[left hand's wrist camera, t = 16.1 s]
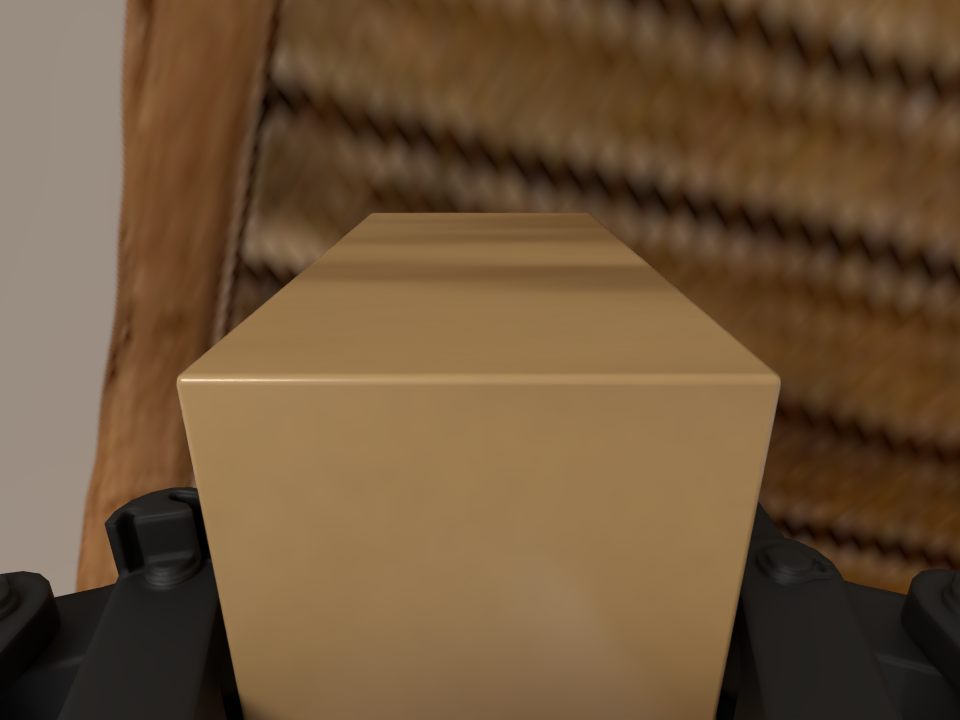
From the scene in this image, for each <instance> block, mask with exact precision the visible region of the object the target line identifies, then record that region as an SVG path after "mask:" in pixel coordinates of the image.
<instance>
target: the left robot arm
mask: <svg viewBox="0 0 960 720" xmlns="http://www.w3.org/2000/svg"><path fill="white" fill-rule="evenodd" d="M105 527H106V531H107V534H108V538H109V542H110V545H111V549H112V553H113V556H114V560H115V564H116V567H117V571H118V574H119V577H118V579H117V581H116V583H115V584H111V585H108V586H104V587H101V588H96V589H91V590H87V591H82V592H77V593H73V594H68V595H64V596H59V597H54V595H53V592H52V589H51V586H50V583H49V581H48V580H47V579H46V578H44V577H43V576H42V575H41V574H38V573H32V572H25V571H21V572H13V573H5V574H0V720H244V718H243V713H242V708H241V703H240V698H239V693H238V688H237V683H236V678H235V673H234V668H233V663H232V658H231V653H230V648H229V643H228V638H227V633H226V628H225V623H224V618H223V613H222V608H221V603H220V598H219V593H218V588H217V583H216V578H215V574H214V569H213V564H212V559H211V554H210V549H209V544H208V539H207V534H206V529H205V524H204V519H203V514H202V509H201V504H200V499H199V494H198V489H197V488H192V487H181V488H169V489H164V490H160V491H155V492H151V493H149V494H146V495H144V496H141V497H139V498H136V499H134V500H131V501H130V502H128V503H127V504H125V505H124V506H122V507H121V508H119V509H118V510H116V511H115V512H114V513H113V514H112V515H111V517H110V518H109V519H108V520H107V521H106V522H105ZM715 720H960V571H953V570H945V569H932V570H926V571H921V572H920V573H919V574H918V575H916V576H915V577H914V578H913V579H912V582H911V585H910V588H909V591H908V594H907V595H905V594H900V593H895V592H891V591H886V590H881V589H877V588H872V587H867V586H863V585H858V584H855V583H851V582H848V581H844V580H843V578H842V576H841V574H840V573H839V571H838V570H837V568H836V567H835V566H834V564H833V563H832V562H831V561H830V560H829V559H827V558H826V557H825V556H823V555H822V554H821V553H820V552H818V551H817V550H815V549H813V548H811V547H809V546H807V545H804V544H802V543H800V542H798V541H795V540H791V539H787V538H784V536H783V535H782V534H781V532H780V531H779V529H778V528H777V527H776V525H775V524H774V523H773V521H772V520H771V518H770V517H769V516H768V514H767V513H766V512H765V510H764V509H763V507H762V506H761V505H760V503H759V502H758V503H757V508H756V513H755V519H754V524H753V529H752V534H751V539H750V544H749V549H748V554H747V559H746V564H745V570H744V575H743V580H742V585H741V590H740V595H739V600H738V605H737V610H736V615H735V621H734V626H733V631H732V636H731V641H730V646H729V651H728V656H727V661H726V666H725V672H724V677H723V682H722V687H721V692H720V697H719V702H718V707H717V712H716V717H715Z"/></svg>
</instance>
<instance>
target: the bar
mask: <svg viewBox="0 0 960 720" xmlns="http://www.w3.org/2000/svg"><path fill="white" fill-rule="evenodd" d="M780 386H781V382H780V377H779V375H778V374H777V373H776V372H775V371H773V370H772V369H771V368H770V367H769V366H767V365H766V364H765V363H764V362H763V361H762V360H760V359H759V358H758V357H757V356H756V355H755V354H753V353H752V352H751V351H750V350H749V349H747V348H746V347H745V346H744V345H743V344H742V343H740V342H739V341H738V340H737V339H736V338H735V337H733V336H732V335H731V334H730V333H729V332H728V331H726V330H725V329H724V328H723V327H722V326H720V325H719V324H718V323H717V322H716V321H715V320H713V319H712V318H711V317H710V316H709V315H708V314H706V313H705V312H704V311H703V310H702V309H701V308H699V307H698V306H697V305H696V304H695V303H693V302H692V301H691V300H690V299H689V298H688V297H686V296H685V295H684V294H683V293H682V292H681V291H679V290H678V289H677V288H676V287H675V286H674V285H672V284H671V283H670V282H669V281H668V280H666V279H665V278H664V277H663V276H662V275H661V274H659V273H658V272H657V271H656V270H655V269H654V268H652V267H651V266H650V265H649V264H648V263H646V262H645V261H644V260H643V259H642V258H641V257H639V256H638V255H637V254H636V253H635V252H634V251H632V250H631V249H630V248H629V247H628V246H627V245H625V244H624V243H623V242H622V241H621V240H619V239H618V238H617V237H616V236H615V235H614V234H612V233H611V232H610V231H609V230H608V229H607V228H605V227H604V226H603V225H602V224H601V223H600V222H598V221H597V220H596V219H595V218H594V217H592V216H591V215H590V214H588V213H373V214H370V215H369V216H368V217H367V218H366V219H365V220H363V221H362V222H361V223H360V224H359V225H357V226H356V227H355V228H354V229H353V230H351V231H350V232H349V233H348V234H347V235H345V236H344V237H343V238H342V239H341V240H340V241H338V242H337V243H336V244H335V245H334V246H332V247H331V248H330V249H329V250H328V251H326V252H325V253H324V254H323V255H322V256H320V257H319V258H318V259H317V260H316V261H314V262H313V263H312V264H311V265H310V266H309V267H307V268H306V269H305V270H304V271H303V272H301V273H300V274H299V275H298V276H297V277H295V278H294V279H293V280H292V281H291V282H289V283H288V284H287V285H286V286H285V287H284V288H282V289H281V290H280V291H279V292H278V293H276V294H275V295H274V296H273V297H272V298H270V299H269V300H268V301H267V302H266V303H264V304H263V305H262V306H261V307H260V308H258V309H257V310H256V311H255V312H254V313H253V314H251V315H250V316H249V317H248V318H247V319H245V320H244V321H243V322H242V323H241V324H239V325H238V326H237V327H236V328H235V329H233V330H232V331H231V332H230V333H229V334H228V335H226V336H225V337H224V338H223V339H222V340H220V341H219V342H218V343H217V344H216V345H214V346H213V347H212V348H211V349H210V350H208V351H207V352H206V353H205V354H204V355H202V356H201V357H200V358H199V359H198V360H197V361H195V362H194V363H193V364H192V365H191V366H189V367H188V368H187V369H186V370H185V371H183V372H182V373H181V374H180V375H179V376H178V379H177V390H178V395H179V400H180V404H181V409H182V414H183V419H184V424H185V429H186V434H187V439H188V444H189V449H190V454H191V459H192V464H193V469H194V474H195V479H196V484H197V489H198V494H199V499H200V504H201V509H202V514H203V519H204V524H205V529H206V534H207V539H208V544H209V549H210V554H211V559H212V564H213V569H214V574H215V578H216V583H217V588H218V593H219V598H220V603H221V608H222V613H223V618H224V623H225V628H226V633H227V638H228V643H229V648H230V653H231V658H232V663H233V668H234V673H235V678H236V683H237V688H238V693H239V698H240V703H241V708H242V713H243V718H244V720H715V717H716V712H717V707H718V702H719V697H720V692H721V687H722V682H723V677H724V672H725V666H726V661H727V656H728V651H729V646H730V641H731V636H732V631H733V626H734V621H735V615H736V610H737V605H738V600H739V595H740V590H741V585H742V580H743V575H744V570H745V564H746V559H747V554H748V549H749V544H750V539H751V534H752V529H753V524H754V519H755V513H756V508H757V503H758V498H759V493H760V488H761V483H762V478H763V473H764V468H765V462H766V457H767V452H768V447H769V442H770V437H771V432H772V427H773V422H774V417H775V411H776V406H777V401H778V396H779V391H780Z"/></svg>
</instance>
